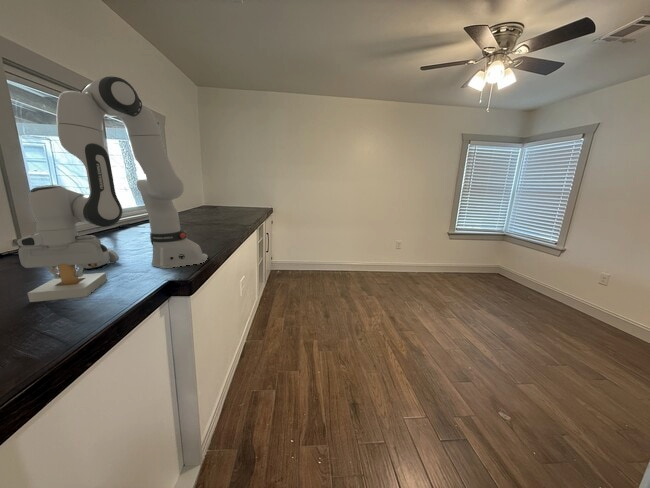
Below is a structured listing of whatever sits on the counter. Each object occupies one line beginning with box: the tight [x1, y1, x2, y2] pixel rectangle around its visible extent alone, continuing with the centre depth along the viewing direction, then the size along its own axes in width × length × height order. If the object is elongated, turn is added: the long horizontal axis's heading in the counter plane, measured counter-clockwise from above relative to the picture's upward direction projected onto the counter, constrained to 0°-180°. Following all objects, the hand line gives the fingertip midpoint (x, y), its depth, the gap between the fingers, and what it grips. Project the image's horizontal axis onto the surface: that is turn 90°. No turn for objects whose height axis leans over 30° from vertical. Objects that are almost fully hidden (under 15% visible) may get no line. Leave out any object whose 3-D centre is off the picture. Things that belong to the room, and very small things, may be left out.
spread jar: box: [83, 238, 120, 271], centre depth 108 cm, size 12×11×12 cm
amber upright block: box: [57, 264, 79, 286], centre depth 85 cm, size 4×4×9 cm
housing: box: [27, 272, 108, 303], centre depth 86 cm, size 14×14×3 cm
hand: (69, 277), depth 86 cm, fingers closed on amber upright block, 4 cm apart
